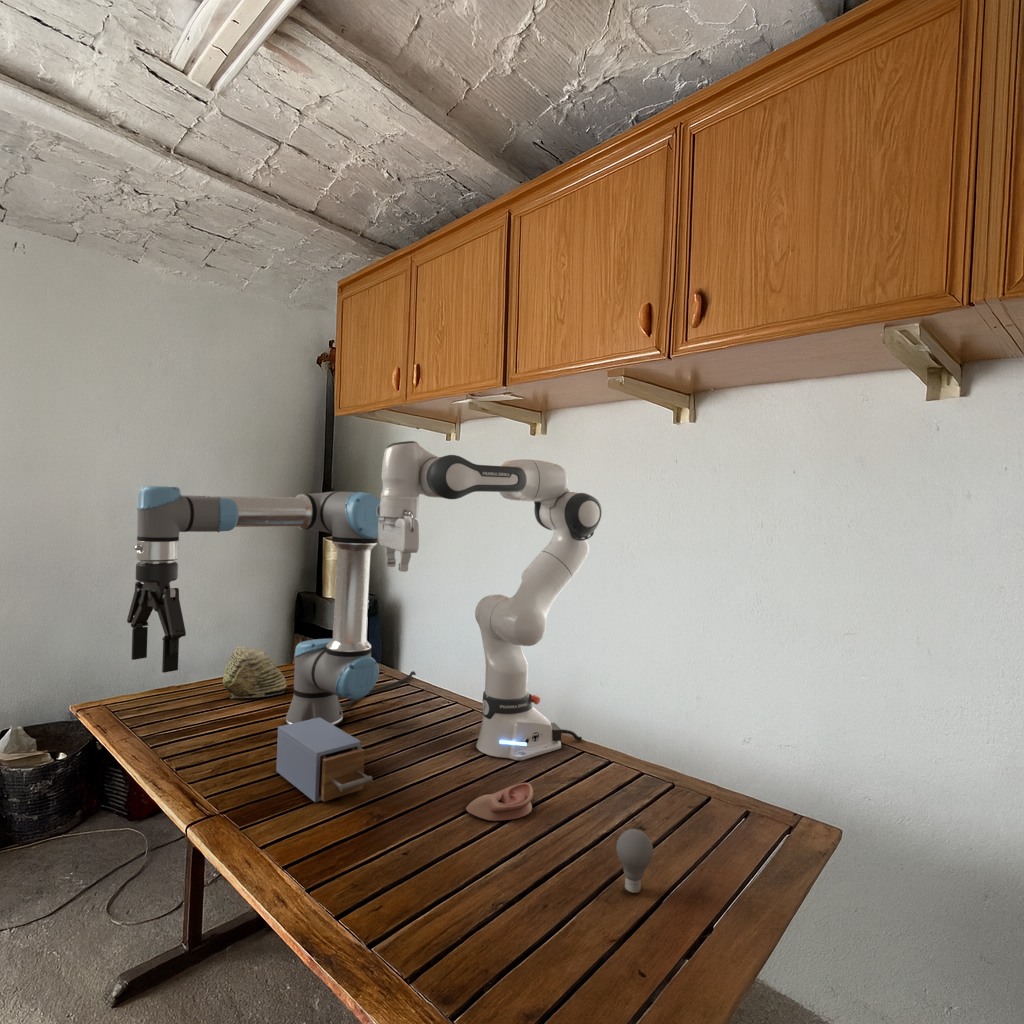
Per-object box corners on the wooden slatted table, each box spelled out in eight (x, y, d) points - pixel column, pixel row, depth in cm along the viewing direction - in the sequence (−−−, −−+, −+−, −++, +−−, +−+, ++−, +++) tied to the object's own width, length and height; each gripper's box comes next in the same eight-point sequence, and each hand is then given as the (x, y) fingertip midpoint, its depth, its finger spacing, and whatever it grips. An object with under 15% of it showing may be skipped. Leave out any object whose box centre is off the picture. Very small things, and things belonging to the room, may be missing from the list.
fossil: (218, 695, 195) (220, 647, 195) (278, 685, 208) (279, 640, 207) (228, 703, 189) (230, 653, 188) (289, 692, 201) (290, 645, 201)
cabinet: (359, 788, 138) (361, 741, 138) (314, 802, 131) (316, 752, 131) (318, 760, 152) (319, 717, 152) (276, 771, 145) (277, 726, 145)
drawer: (376, 798, 132) (377, 757, 132) (336, 811, 126) (338, 769, 126) (323, 761, 149) (325, 726, 149) (286, 772, 143) (287, 735, 142)
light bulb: (610, 879, 108) (613, 822, 108) (644, 879, 109) (647, 822, 109) (619, 902, 102) (622, 840, 102) (655, 901, 103) (658, 840, 103)
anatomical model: (462, 797, 127) (476, 773, 139) (461, 816, 128) (476, 791, 139) (527, 806, 125) (536, 781, 136) (526, 826, 125) (535, 800, 136)
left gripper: (111, 556, 134) (108, 656, 134) (167, 568, 119) (164, 680, 119) (148, 555, 140) (145, 650, 140) (206, 566, 125) (203, 673, 125)
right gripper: (427, 512, 141) (424, 574, 141) (399, 509, 159) (397, 564, 159) (400, 511, 138) (397, 574, 138) (374, 508, 156) (372, 564, 156)
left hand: (154, 664), depth 130 cm, fingers open, 13 cm apart
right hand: (396, 568), depth 149 cm, fingers open, 8 cm apart
